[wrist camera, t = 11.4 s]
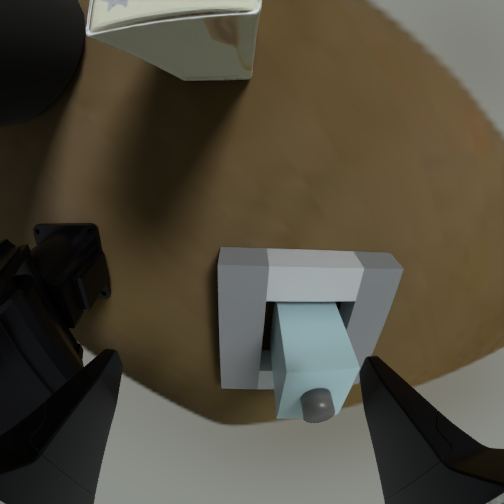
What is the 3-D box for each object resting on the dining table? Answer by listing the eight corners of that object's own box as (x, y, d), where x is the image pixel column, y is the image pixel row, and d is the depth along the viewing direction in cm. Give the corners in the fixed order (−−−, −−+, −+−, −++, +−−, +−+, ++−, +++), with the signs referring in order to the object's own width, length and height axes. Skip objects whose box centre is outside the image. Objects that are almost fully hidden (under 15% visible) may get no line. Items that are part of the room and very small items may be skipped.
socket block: (222, 368, 27) (221, 388, 25) (220, 246, 21) (217, 264, 19) (351, 365, 27) (358, 383, 25) (390, 252, 21) (403, 268, 19)
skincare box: (252, 80, 16) (266, 29, 5) (182, 82, 16) (79, 50, 5) (255, -8, 13) (268, -130, 2) (186, -5, 13) (116, -111, 2)
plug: (269, 342, 25) (278, 436, 17) (275, 292, 23) (289, 392, 14) (319, 341, 26) (341, 431, 17) (330, 292, 23) (366, 386, 15)
